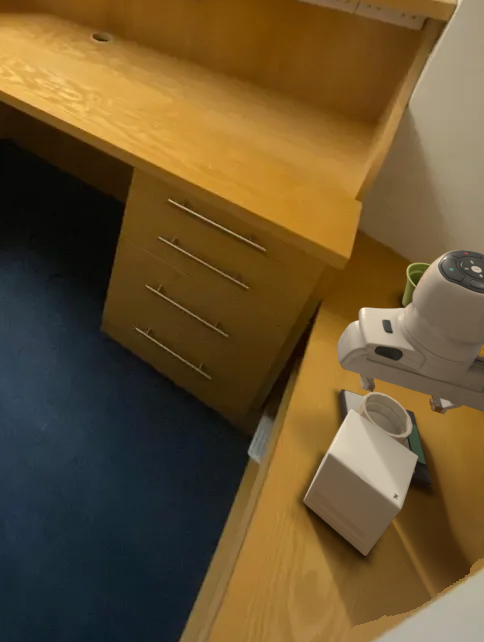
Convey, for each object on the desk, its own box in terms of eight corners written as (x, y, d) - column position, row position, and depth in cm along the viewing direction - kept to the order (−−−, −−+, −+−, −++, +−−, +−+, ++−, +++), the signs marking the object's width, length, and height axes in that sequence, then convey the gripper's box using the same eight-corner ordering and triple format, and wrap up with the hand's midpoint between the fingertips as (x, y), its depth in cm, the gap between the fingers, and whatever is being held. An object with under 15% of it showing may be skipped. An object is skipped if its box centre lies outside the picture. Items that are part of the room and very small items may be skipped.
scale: (409, 418, 88) (415, 409, 86) (427, 489, 79) (433, 482, 77) (338, 394, 91) (342, 386, 90) (347, 461, 82) (352, 453, 81)
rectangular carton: (385, 505, 77) (422, 456, 70) (365, 558, 72) (403, 512, 64) (323, 455, 83) (351, 405, 75) (300, 501, 78) (328, 452, 70)
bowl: (397, 415, 86) (406, 400, 83) (406, 459, 80) (417, 444, 78) (351, 400, 88) (359, 385, 86) (358, 441, 82) (367, 427, 80)
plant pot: (385, 307, 106) (400, 280, 102) (400, 282, 112) (414, 254, 107) (438, 339, 100) (456, 311, 96) (451, 310, 105) (468, 282, 101)
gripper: (512, 347, 72) (473, 401, 78) (349, 304, 78) (326, 356, 85) (532, 391, 67) (488, 444, 73) (355, 340, 73) (330, 393, 80)
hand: (400, 397), depth 79 cm, fingers open, 8 cm apart
